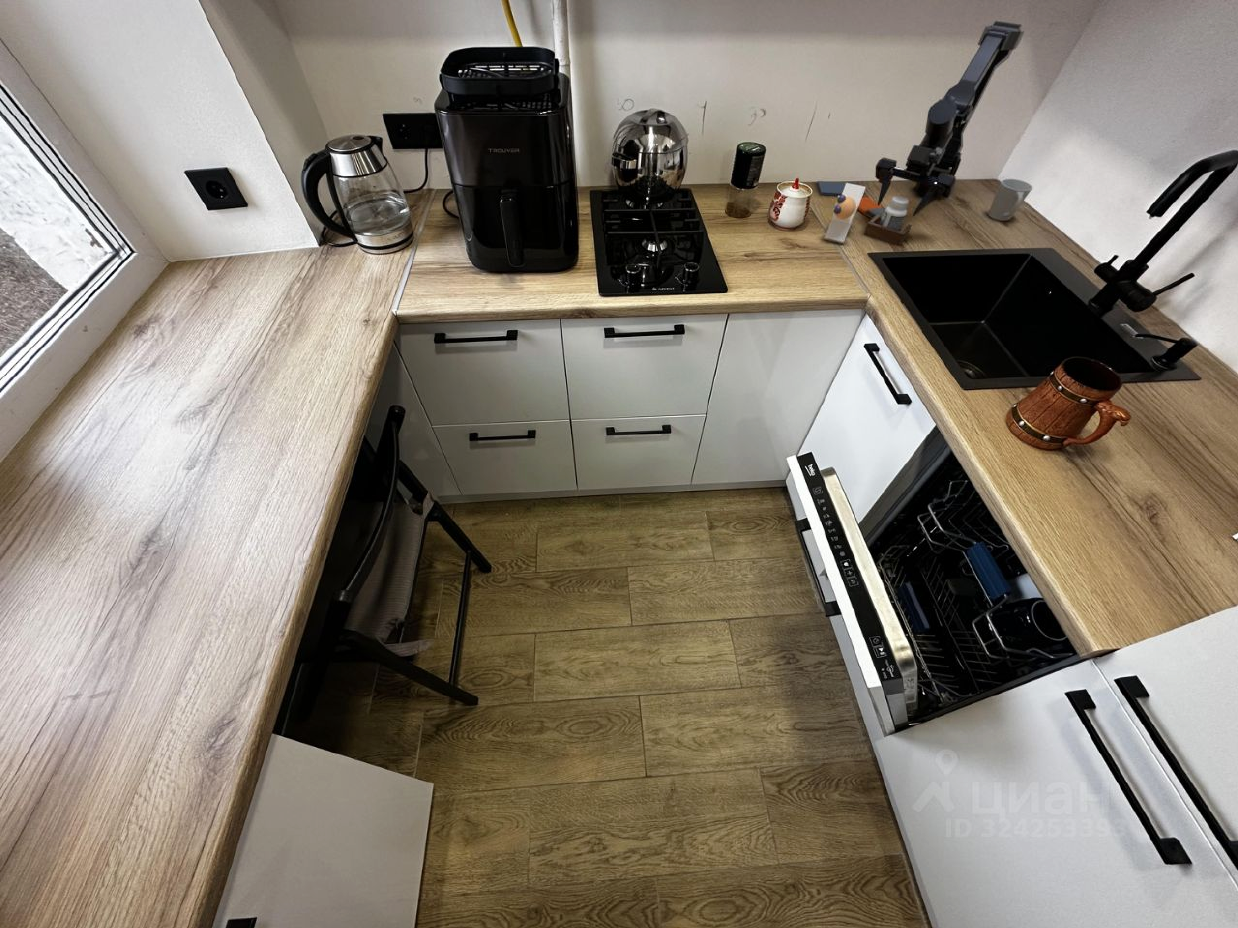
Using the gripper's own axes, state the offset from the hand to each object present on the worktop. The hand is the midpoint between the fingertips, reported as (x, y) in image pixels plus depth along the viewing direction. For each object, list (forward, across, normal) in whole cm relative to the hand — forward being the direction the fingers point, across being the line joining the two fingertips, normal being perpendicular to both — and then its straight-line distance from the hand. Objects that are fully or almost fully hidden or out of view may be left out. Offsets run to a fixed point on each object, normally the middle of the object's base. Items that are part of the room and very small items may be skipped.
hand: (895, 210), depth 132 cm
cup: (-18, +21, +27) cm, 38 cm away
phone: (-3, -7, +13) cm, 15 cm away
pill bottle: (+4, 0, +6) cm, 7 cm away
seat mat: (-9, -21, +18) cm, 29 cm away
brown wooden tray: (+4, 0, +6) cm, 7 cm away
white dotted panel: (+10, -10, 0) cm, 14 cm away
